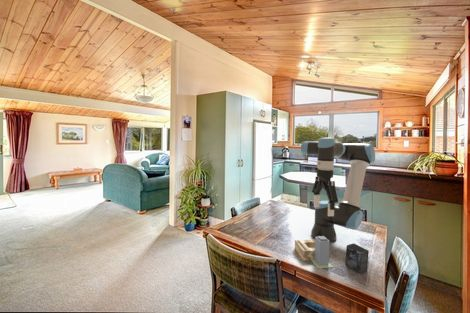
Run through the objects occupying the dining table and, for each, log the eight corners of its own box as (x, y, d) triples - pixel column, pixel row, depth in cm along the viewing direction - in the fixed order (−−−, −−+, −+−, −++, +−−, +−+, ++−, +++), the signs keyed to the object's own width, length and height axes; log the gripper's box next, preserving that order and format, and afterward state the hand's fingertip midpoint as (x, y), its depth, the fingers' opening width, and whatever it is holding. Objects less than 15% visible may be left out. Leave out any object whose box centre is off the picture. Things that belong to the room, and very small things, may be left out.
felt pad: (324, 258, 115) (324, 257, 115) (333, 267, 107) (333, 266, 107) (310, 259, 114) (310, 258, 114) (317, 268, 106) (317, 267, 106)
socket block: (317, 247, 126) (318, 238, 126) (328, 259, 114) (329, 249, 114) (294, 248, 125) (294, 239, 124) (303, 260, 113) (303, 250, 113)
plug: (323, 259, 113) (324, 235, 112) (328, 265, 108) (329, 239, 107) (314, 260, 113) (315, 235, 112) (318, 265, 108) (320, 240, 107)
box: (345, 265, 109) (346, 245, 108) (352, 262, 111) (354, 242, 110) (359, 274, 102) (361, 252, 101) (367, 271, 104) (369, 250, 103)
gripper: (306, 166, 119) (305, 204, 121) (332, 173, 94) (329, 220, 96) (319, 166, 120) (317, 203, 122) (348, 173, 95) (345, 220, 97)
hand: (323, 211), depth 109 cm, fingers open, 13 cm apart
